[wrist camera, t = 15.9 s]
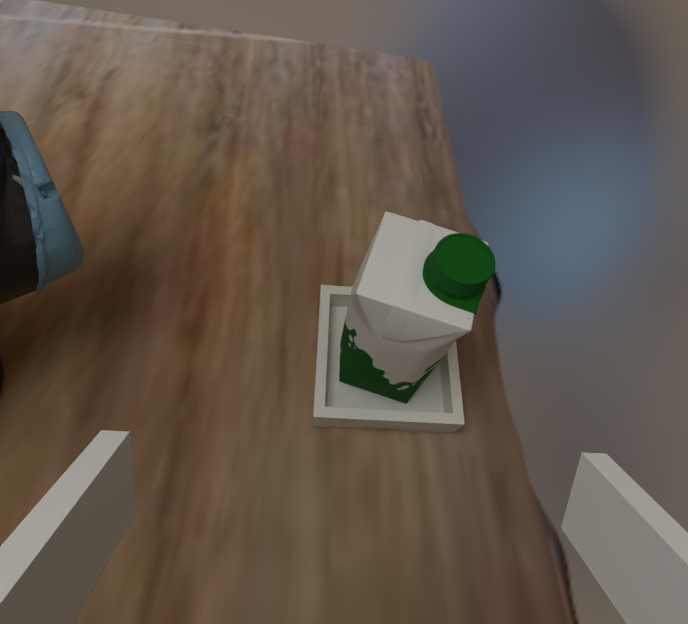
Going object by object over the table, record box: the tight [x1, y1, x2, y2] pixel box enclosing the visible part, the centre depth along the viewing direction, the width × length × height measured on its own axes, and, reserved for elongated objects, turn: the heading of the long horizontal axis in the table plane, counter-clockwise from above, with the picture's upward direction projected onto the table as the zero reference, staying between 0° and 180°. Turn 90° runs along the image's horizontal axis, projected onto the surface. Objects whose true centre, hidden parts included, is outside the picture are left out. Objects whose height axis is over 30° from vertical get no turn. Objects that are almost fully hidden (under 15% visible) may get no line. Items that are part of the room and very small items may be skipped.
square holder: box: [312, 285, 465, 433], centre depth 45 cm, size 14×14×4 cm
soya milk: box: [339, 211, 495, 404], centre depth 37 cm, size 9×9×20 cm
